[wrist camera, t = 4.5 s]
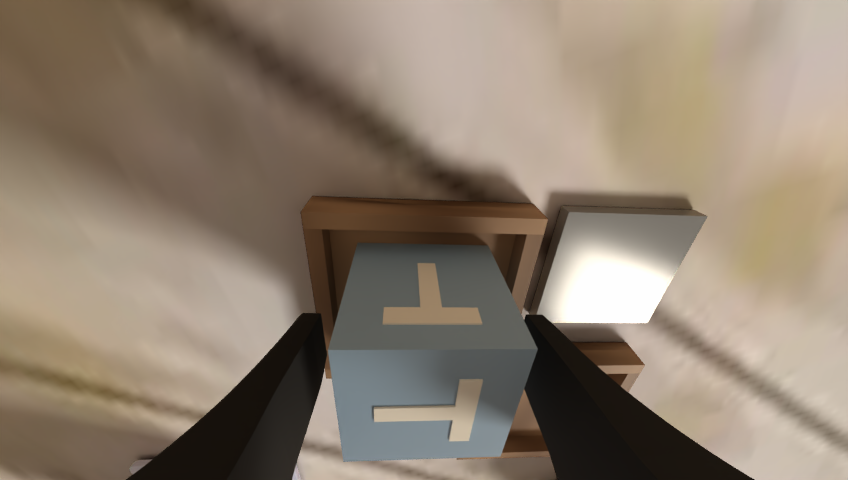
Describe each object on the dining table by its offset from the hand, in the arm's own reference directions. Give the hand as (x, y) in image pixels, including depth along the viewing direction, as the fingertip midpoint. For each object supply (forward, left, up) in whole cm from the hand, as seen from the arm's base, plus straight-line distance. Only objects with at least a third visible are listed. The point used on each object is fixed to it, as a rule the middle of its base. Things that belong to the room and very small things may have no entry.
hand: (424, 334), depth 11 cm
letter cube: (0, 0, -2) cm, 2 cm away
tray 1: (0, 0, -3) cm, 3 cm away
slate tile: (+8, +1, -3) cm, 9 cm away
